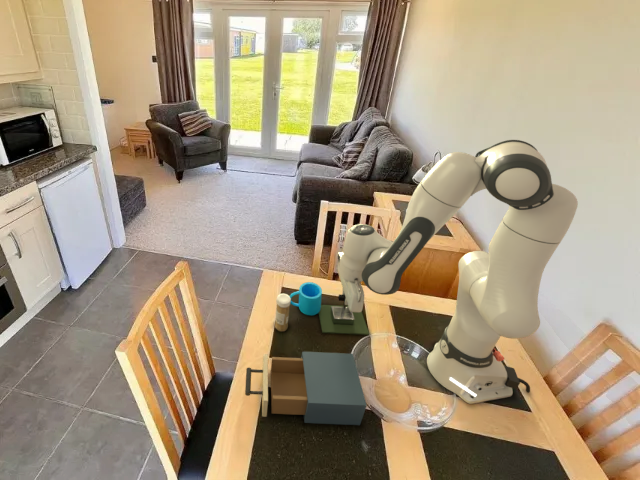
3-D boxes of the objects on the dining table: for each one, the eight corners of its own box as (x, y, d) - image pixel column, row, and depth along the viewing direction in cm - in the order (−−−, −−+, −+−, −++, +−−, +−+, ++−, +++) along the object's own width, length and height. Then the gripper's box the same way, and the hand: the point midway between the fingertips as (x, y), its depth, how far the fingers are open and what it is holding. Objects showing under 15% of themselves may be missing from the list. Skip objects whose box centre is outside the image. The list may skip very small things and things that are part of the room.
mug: (318, 297, 121) (319, 281, 117) (322, 315, 113) (324, 298, 110) (287, 298, 121) (287, 282, 117) (289, 315, 114) (289, 299, 110)
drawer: (244, 415, 83) (244, 399, 79) (246, 369, 94) (247, 353, 91) (313, 418, 83) (316, 402, 79) (307, 371, 94) (310, 355, 91)
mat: (359, 307, 118) (359, 306, 118) (369, 335, 107) (369, 333, 107) (317, 305, 118) (317, 304, 118) (322, 333, 107) (322, 331, 107)
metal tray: (349, 312, 115) (354, 290, 110) (353, 325, 110) (358, 302, 105) (330, 311, 115) (334, 290, 110) (333, 324, 110) (337, 301, 105)
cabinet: (304, 423, 83) (308, 402, 78) (299, 371, 95) (302, 351, 91) (360, 425, 83) (366, 405, 78) (347, 373, 95) (352, 353, 91)
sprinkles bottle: (290, 328, 109) (293, 299, 103) (279, 334, 106) (282, 305, 100) (282, 319, 112) (285, 291, 106) (271, 324, 110) (274, 296, 104)
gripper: (372, 293, 93) (363, 325, 99) (354, 250, 111) (348, 279, 117) (351, 292, 93) (343, 324, 99) (336, 249, 111) (331, 279, 117)
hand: (345, 300), depth 108 cm, fingers closed on metal tray
